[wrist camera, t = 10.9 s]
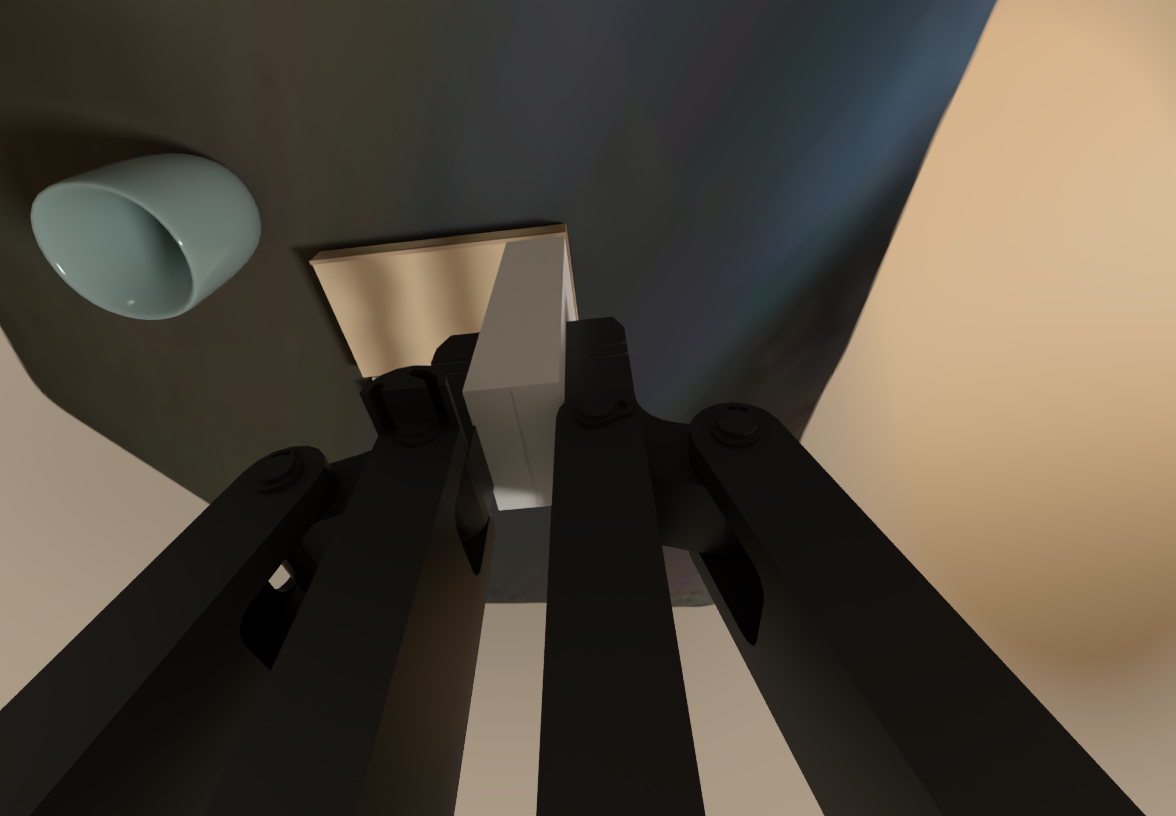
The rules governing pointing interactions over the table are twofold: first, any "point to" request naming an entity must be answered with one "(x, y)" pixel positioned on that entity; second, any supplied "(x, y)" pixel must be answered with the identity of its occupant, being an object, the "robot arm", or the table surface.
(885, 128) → the table surface
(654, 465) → the robot arm
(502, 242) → the loose plank
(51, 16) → the table surface
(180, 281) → the cup
